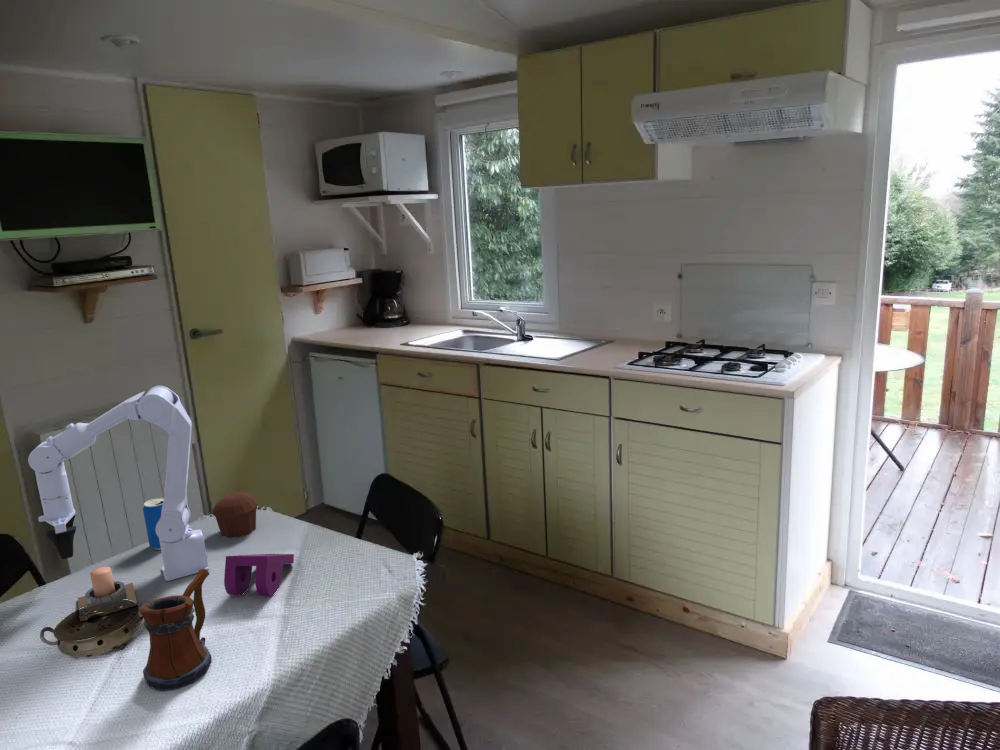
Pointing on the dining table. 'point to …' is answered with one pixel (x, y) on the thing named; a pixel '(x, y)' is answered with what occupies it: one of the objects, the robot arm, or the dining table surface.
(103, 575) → the rail post
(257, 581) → the mounting bracket
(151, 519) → the beverage can
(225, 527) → the muffin
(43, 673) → the dining table surface
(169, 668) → the mug
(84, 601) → the cup bracket
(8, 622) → the dining table surface
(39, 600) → the dining table surface
